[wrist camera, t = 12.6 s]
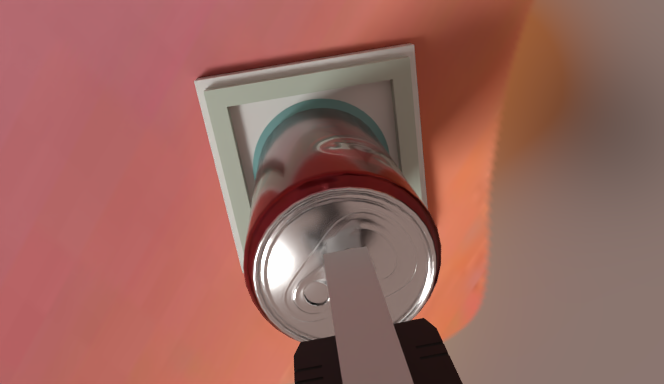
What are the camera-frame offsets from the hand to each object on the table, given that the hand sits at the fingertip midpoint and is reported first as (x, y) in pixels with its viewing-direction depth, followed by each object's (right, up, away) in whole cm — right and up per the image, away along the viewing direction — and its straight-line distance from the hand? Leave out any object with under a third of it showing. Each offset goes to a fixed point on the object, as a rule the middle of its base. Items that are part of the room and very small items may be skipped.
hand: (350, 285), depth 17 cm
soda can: (-1, +5, +12) cm, 13 cm away
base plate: (-1, +5, +13) cm, 14 cm away
